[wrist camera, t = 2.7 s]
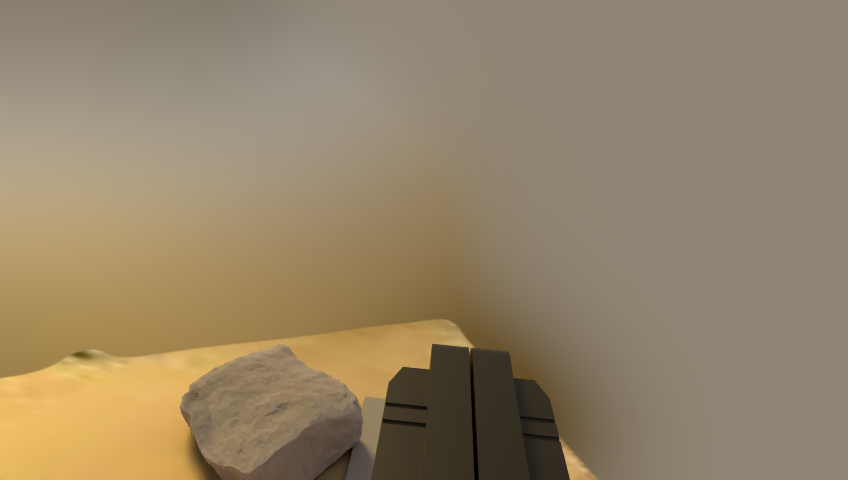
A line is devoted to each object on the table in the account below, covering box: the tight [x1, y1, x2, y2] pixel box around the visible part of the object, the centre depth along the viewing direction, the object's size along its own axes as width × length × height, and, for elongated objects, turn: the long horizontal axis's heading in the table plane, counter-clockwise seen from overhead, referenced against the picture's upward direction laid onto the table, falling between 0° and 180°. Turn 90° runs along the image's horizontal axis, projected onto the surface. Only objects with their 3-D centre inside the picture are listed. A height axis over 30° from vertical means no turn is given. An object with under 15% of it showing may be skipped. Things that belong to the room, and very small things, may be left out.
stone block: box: [180, 345, 363, 480], centre depth 39 cm, size 12×5×10 cm
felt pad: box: [345, 397, 386, 480], centre depth 38 cm, size 13×10×1 cm
